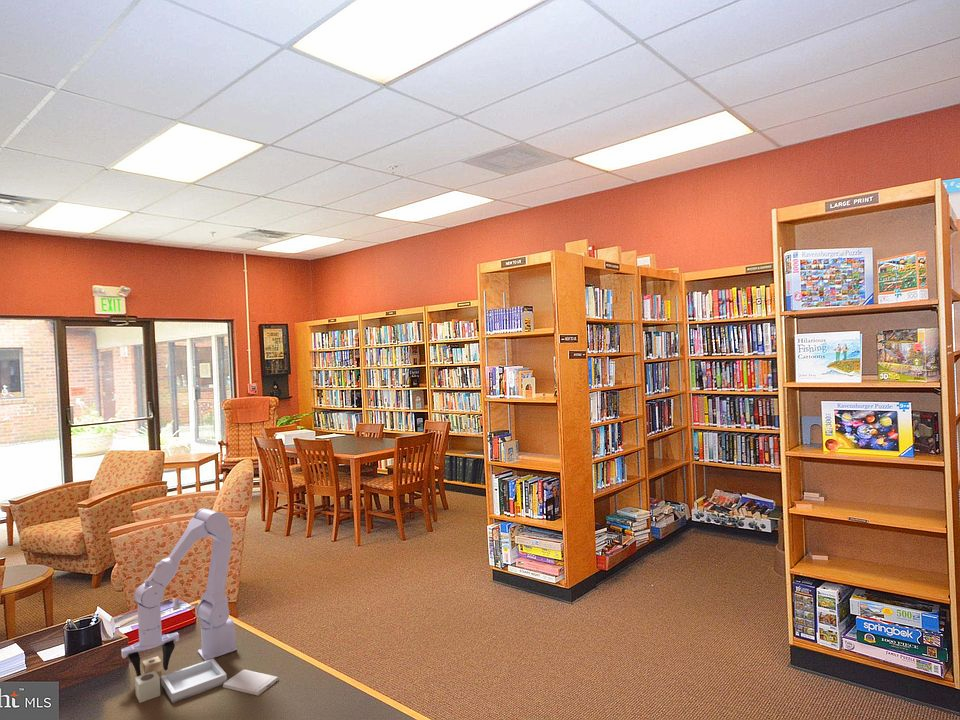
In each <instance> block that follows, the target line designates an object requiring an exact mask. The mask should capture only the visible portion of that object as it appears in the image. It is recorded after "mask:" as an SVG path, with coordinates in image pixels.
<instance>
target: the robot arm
mask: <svg viewBox="0 0 960 720" xmlns="http://www.w3.org/2000/svg"><path fill="white" fill-rule="evenodd" d="M229 520H230V518H229V517H228V516H227V515H225V514H224V513H223V512H220V511H216V510H213V509H210V508H207V507H202V508H200V509H198V510H197V511H196V512H195V513H194V515H193V517H191V518H190V520H189V522H188V524H187V526H186V529H185V531H184V532H183V534H182V535H181V537H180V538H179V540H178V541H177V543H176V544H175V546H174V548H173V549H172V550H171V552H170V554H169V555H168V557H165V558H162V559H161V560H160V561H159V562H156V563H155V565H154V569H153V570H152V572H151V573H150V574H149V576H148V578H147V579H145V580H144V581H143V583H142V584H140V585H139V586H138V587H137V588H136V589H135V591H134V594H133V596H132V597H133V600H134V602H135V603H137V624H138V625H137V626H138V627H137V628H138V639H139V640H138V642H135V643H133V644H131V645H129V646H126V647H124V648H121V650H120V652H121V657H122V659H126V658H127V657H128V659H129V660H130V663H131V664H132V666H133V668H134V671H135V673H136V674H135V675H136V677H137V676H140V675H142V671H141V657H140V653H141V652H144V651H147V650H151V649H154V648H157V647H160V646H161V648H162V667H163V670H164V671H167V670H169V669H168V667H169V663H170V659H171V656H172V654H173V651H174V649H175V647H176V644H175V642H176V643H177V642H178V641H180V633H178V631H176V632H173V633H172V632H171V633H167V634H162V615H161V613H162V611H161V602H162V601H163V599H164V597H165V590H166V588H167V587H168V585H169V584H170V582H171V581H172V580H173V578H174V577H175V575H176V574H177V572H178V571H179V570H180V569H179V568H180V567H179V566H180V565H179V563H180V562H181V560H183V558H184V557H185V556H186V554H187V553H188V551H189V550H190V549H191V548H192V547H193V545H194V544H195V543H196V542H197V540H200V539H204V538H207V537H210V538H212V540H213V542H212V547H211V548H212V549H211V555H210V561H209V567H208V568H209V569H208V574H207V576H208V577H207V582H206V588H205V591H204V592H203V593H202V595H201V598H200V601H199V603H198V605H197V607H196V610H195V612H196V616H197V618H199V619H200V639H201V640H200V641H201V648H200V649H198V650H197V653H198V654H199V655H200V656H201V658H202V660H204V661H207V660H210V659H215V658H218V657H221V656H223V655H226V654H229V653H232V652H235V651H237V650H238V648H237V643H236V641H237V638H236V627H235V623H234V620H233V618H229V617H230V609H229V599H228V596H227V594H226V586H227V579H228V578H227V577H228V570H229V565H230V564H229V563H230V558H231V557H230V556H231V550H232V544H233V530H232V528H231V525H230V521H229Z"/></svg>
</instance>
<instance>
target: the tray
mask: <svg viewBox="0 0 960 720" xmlns="http://www.w3.org/2000/svg"><path fill="white" fill-rule="evenodd" d="M226 681H228V676H227V673H226V672H225V671H224V669H223V668H222V667H221V666H220V665H219V663H218V662H217V661H216V660H215V658H212V659H209V660H206V661H205V660H204V661H201V662H198V663H196V664H193V665H190V666H186V667H184V668H181V669H178V670H175V671H172V672H169V673H167V674H164V675H163V674H162V676H161V679H160V685H161V686H162V688H163V690H164V691H165V694H166V695H167V696H168V698H169V699H170V701H171V703H172V704H175V703H177V702H180V701H182V700H184V699H188V698H190V697H193V696H195V695H198V694H202V693H204V692H207V691H209V690H212V689H214V688H217V687H220V686H223V684H224V683H225V682H226Z"/></svg>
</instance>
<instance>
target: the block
mask: <svg viewBox="0 0 960 720" xmlns="http://www.w3.org/2000/svg"><path fill="white" fill-rule="evenodd" d="M141 663H142V675H143V674H146V673H149V672H152V671H156V673H157V674H158V676H159V678H160V680H161V676H163V673H162V660H161V658H160V657H159V656H158V655H157V656H154V657H150V658H148V659H143V660H141Z"/></svg>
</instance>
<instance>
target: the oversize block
mask: <svg viewBox="0 0 960 720" xmlns="http://www.w3.org/2000/svg"><path fill="white" fill-rule="evenodd" d="M134 680H135V681H134V684H135V685H134V687H135V696H136V698H137V700H138V703H139V704H141V703H143V702H147V701H149V700H151V699H154V698H158V697H160V696H161V679H160V678H159V676H158V674H157V673H156V671H152V672H149V673H146V674H143V673H142V674H141V675H140V676H137V675H136V676H135V677H134Z"/></svg>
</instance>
